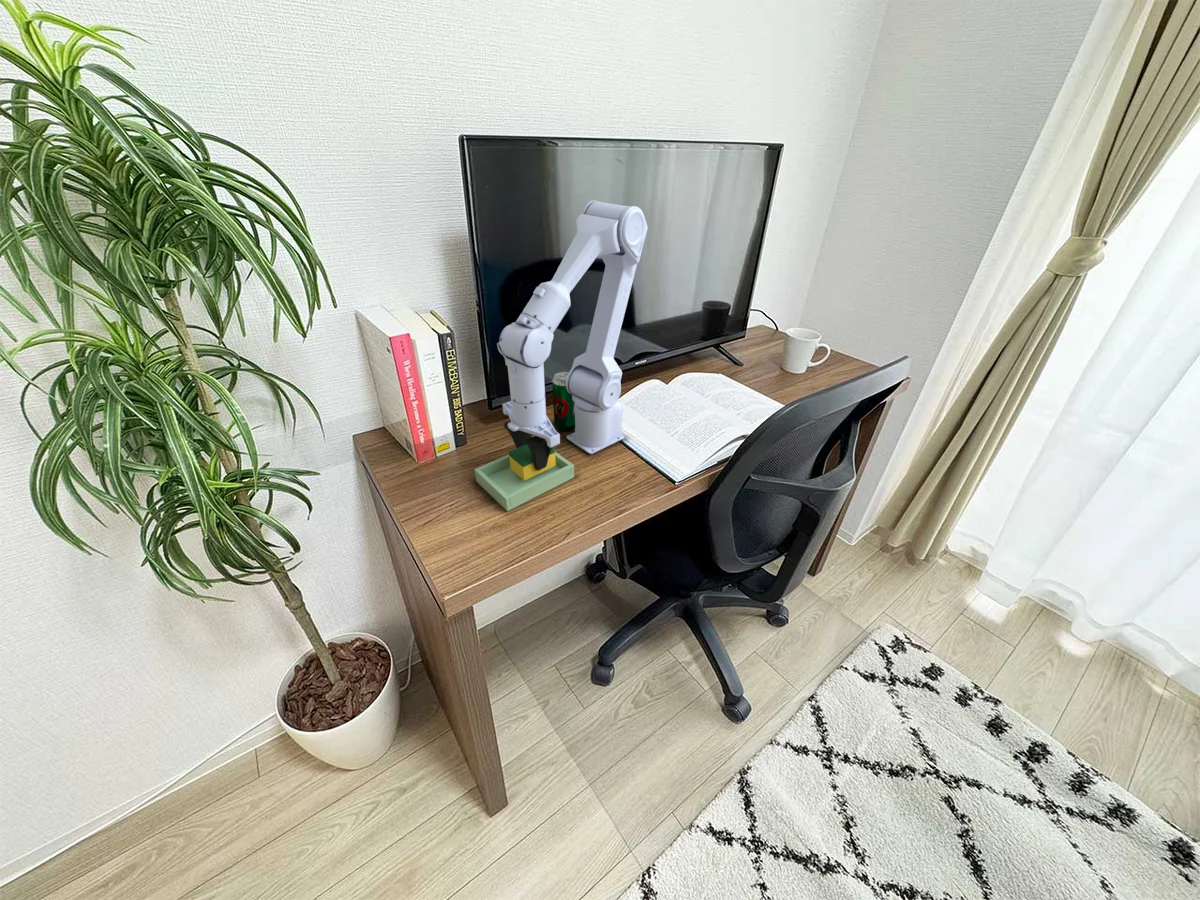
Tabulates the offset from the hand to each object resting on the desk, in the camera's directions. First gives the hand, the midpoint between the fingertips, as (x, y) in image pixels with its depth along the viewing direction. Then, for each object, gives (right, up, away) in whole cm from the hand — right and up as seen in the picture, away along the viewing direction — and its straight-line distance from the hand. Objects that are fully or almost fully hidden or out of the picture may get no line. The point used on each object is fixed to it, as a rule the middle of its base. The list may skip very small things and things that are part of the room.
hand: (532, 461), depth 87 cm
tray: (-1, -3, +1) cm, 4 cm away
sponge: (0, -1, +1) cm, 1 cm away
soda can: (+5, +7, +16) cm, 19 cm away
